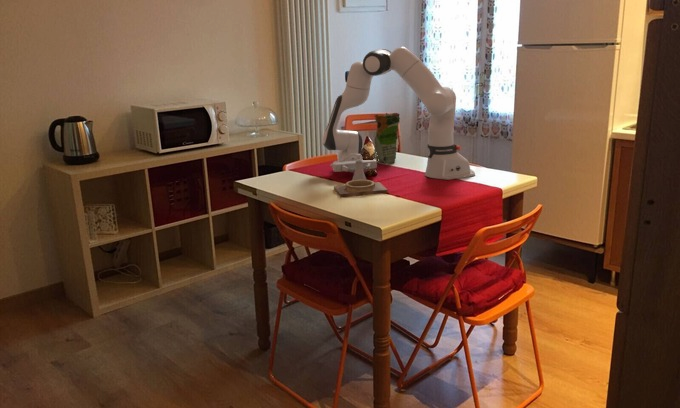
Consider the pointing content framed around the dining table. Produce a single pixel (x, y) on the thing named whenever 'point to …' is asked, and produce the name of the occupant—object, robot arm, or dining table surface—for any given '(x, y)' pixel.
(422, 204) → the dining table surface
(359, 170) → the flask
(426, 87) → the robot arm
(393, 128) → the pouch
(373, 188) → the collar holder
